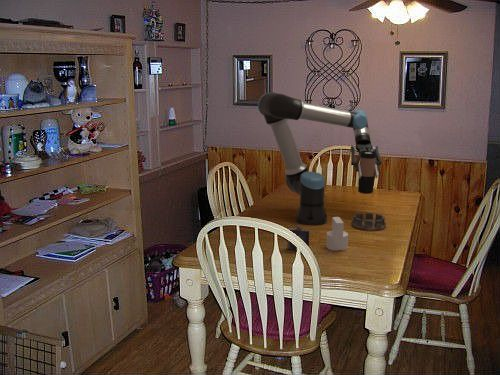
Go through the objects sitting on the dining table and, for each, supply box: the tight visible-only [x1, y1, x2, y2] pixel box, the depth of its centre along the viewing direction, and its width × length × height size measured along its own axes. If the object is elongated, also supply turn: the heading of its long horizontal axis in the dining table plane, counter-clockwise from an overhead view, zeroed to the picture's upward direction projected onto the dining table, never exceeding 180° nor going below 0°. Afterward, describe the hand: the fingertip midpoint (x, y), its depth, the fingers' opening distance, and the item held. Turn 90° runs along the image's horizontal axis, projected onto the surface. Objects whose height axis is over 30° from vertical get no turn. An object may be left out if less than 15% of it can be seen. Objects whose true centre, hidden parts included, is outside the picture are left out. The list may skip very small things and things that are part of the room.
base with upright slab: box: [325, 216, 349, 251], centre depth 232 cm, size 9×9×12 cm
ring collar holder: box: [351, 212, 387, 232], centre depth 262 cm, size 16×16×4 cm
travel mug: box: [357, 150, 377, 195], centre depth 269 cm, size 8×8×20 cm
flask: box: [286, 224, 310, 251], centre depth 229 cm, size 9×3×11 cm, turn 72°
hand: (368, 176), depth 266 cm, fingers closed on travel mug, 7 cm apart
